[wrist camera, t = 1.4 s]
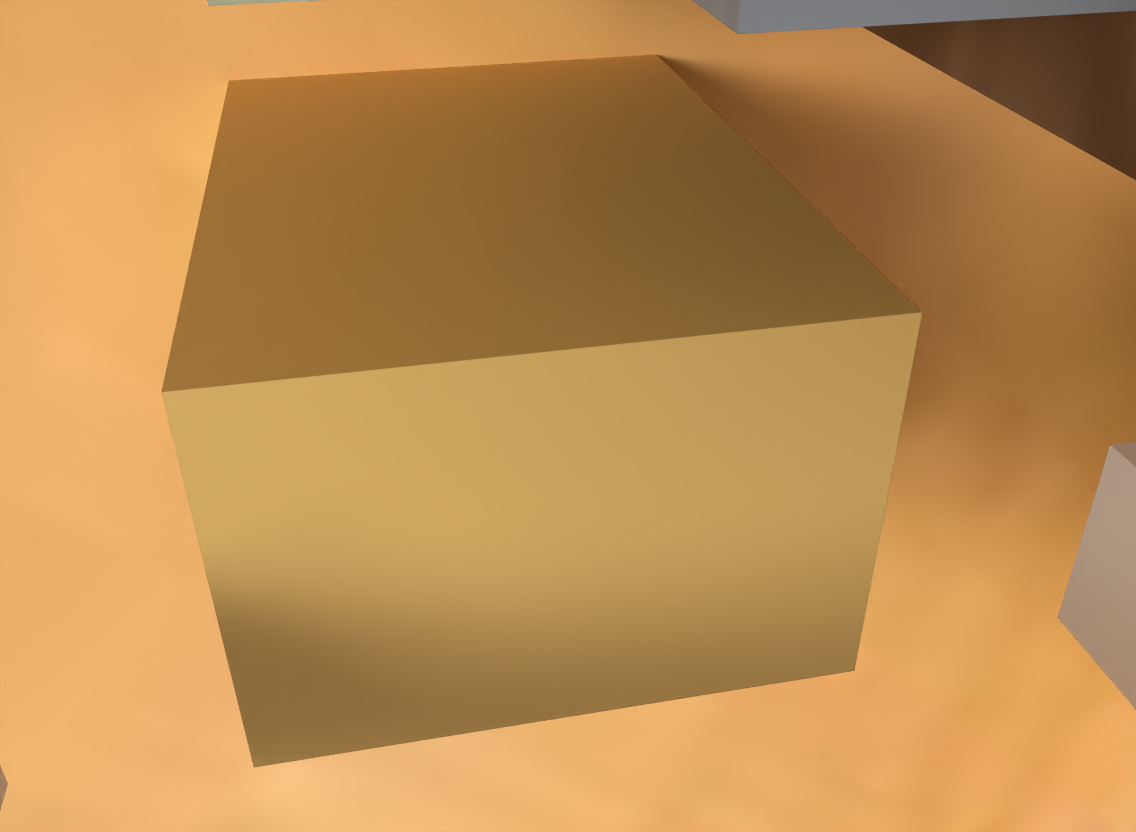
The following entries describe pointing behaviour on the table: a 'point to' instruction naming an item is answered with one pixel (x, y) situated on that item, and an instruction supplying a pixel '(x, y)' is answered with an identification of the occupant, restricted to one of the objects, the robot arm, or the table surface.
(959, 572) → the table surface
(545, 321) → the ochre book
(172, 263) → the table surface
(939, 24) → the brown wooden box
